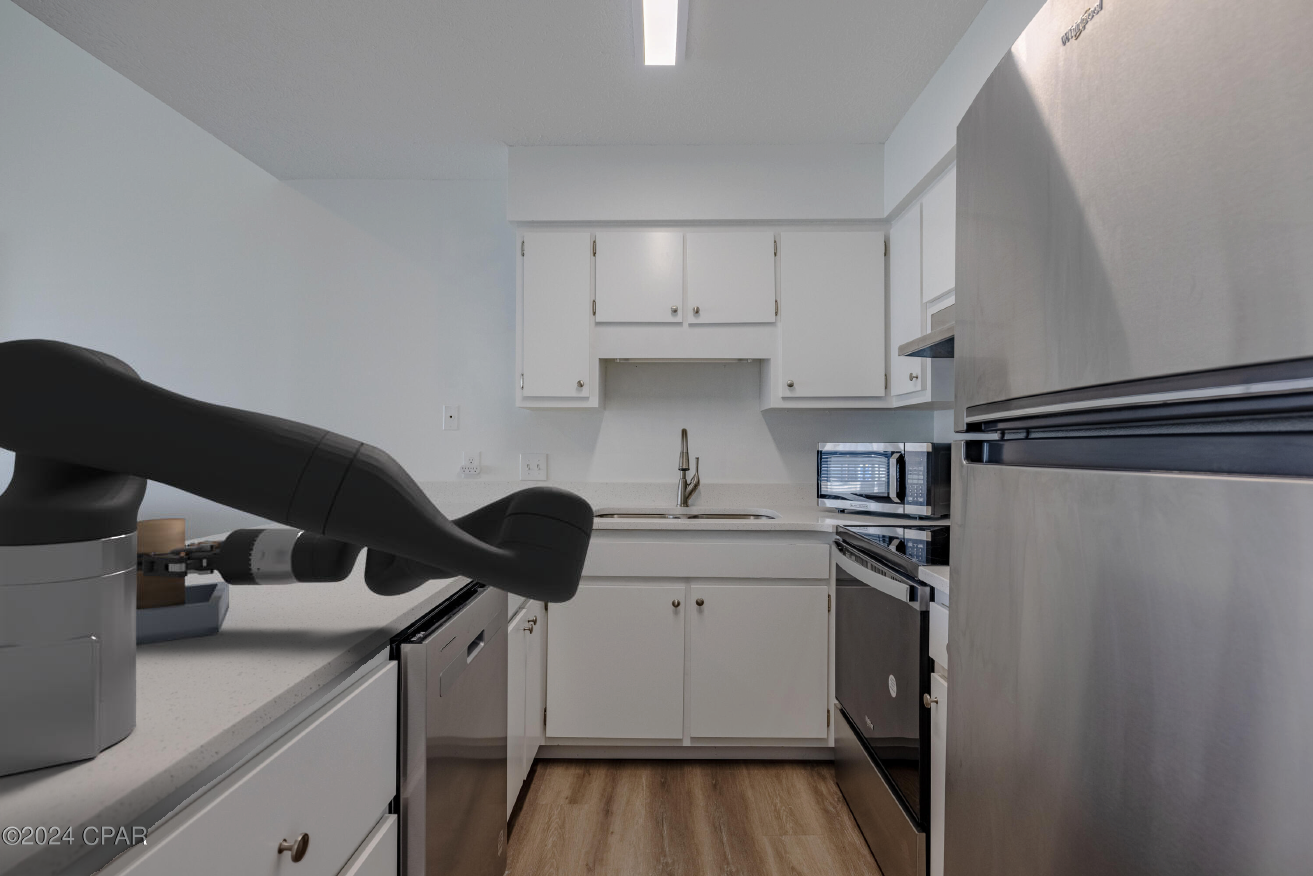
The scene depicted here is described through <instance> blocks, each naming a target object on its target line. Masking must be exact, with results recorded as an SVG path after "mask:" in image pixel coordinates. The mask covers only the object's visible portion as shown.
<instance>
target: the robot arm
mask: <svg viewBox="0 0 1313 876" xmlns="http://www.w3.org/2000/svg"><path fill="white" fill-rule="evenodd" d="M0 449H2V450H3V449H4V450H7V451H9V452H13V453H15V454H14V465H13V472H12V476H11V479H10V481H9V483H8V485H7V487H6V488H5V489H4V491H3V492H2V493H1V494H0V777H1V776H6V775H10V774H16V773H21V772H26V771H32V770H36V769H41V768H45V767H50V766H51V767H52V766H56V765H61V764H62V765H63V764H67V763H71V762H77V761H81V760H85V759H90V758H95V757H97V756H98V755H99V754H100V752H101V751H103V750H104V749H106V748H108V747H110V746H112V745H115V744H116V743H118V742H120V741H121V740H123V739H124V738H126V737H127V736H129V735H130V734H131V733H132V732H133V731H134V729H135V728H136V726H137V645H136V589H137V571H143V576H146V577H149V576H154V577H176V578H184V577H185V578H186V577H188V575H194V574H197V575H198V576H205V575H214V574H215V571H217V572H218V574H219V575H220V576H221V578H222V580H223V581H225V582H226V583H228V584H229V586H284V585H286V586H287V585H294V584H300V583H301V584H302V583H303V584H307V583H308V584H310V583H311V584H313V583H320V584H321V583H322V584H324V583H325V584H326V583H327V584H328V583H340V582H343V581H344V580H347V578H349V576H350V575H351V573H352V572H353V570H354V567H355V565H356V562H357V559H358V558H359V556H360V553H361V551H362V550H363V549H365V548H366V554H365V555H366V557H365V564H364V573H363V577H364V578H363V579H364V583H365V585H366V587H367V588H368V589H369V590H370V592H372V593H374V594H375V595H378V596H383V597H395V596H401V595H404V594H407V593H410V592H413V591H414V590H416V589H418V588H420V587H422V586H423V585H424V584H425V583H427V582H429V581H433V580H435V581H436V580H448V579H454V578H458V577H460V576H461V577H464V578H466V579H470V580H472V581H475V582H478V583H480V584H483V585H486V586H489V587H491V588H495V589H498V590H500V591H503V592H507V593H509V594H512V595H515V596H518V597H521V598H525V599H528V600H531V601H532V600H533V601H536V602H541V603H547V604H548V603H550V604H551V603H552V604H561V603H566V602H569V601H571V600H572V599H573V598H575V596H576V594H577V591H578V590H579V587H580V586H579V585H580V583H581V582H580V581H581V579H582V575H583V570H584V566H585V562H586V559H587V555H588V552H589V551H588V549H589V547H590V542H591V539H592V533H593V530H594V529H593V528H594V520H595V515H594V514H595V513H594V509H593V507H592V506H591V504H590V503H589V502H588V501H587V500H586V499H585V498H583V497H582V496H580V495H578V494H577V493H574V492H572V491H570V490H568V489H564V488H559V487H557V486H556V487H555V486H549V485H547V486H533V487H527V488H524V489H520V490H517V491H515V492H512V493H510V494H508V495H506V496H504V497H502V498H500V499H497V500H495V501H493V502H490V503H488V504H487V505H484V506H482V507H480V508H477V509H476V510H473V511H471V512H470V513H468V514H465V515H463V516H460V517H457V518H454V519H449V518H448V517H447V516H446V515H444V514H443V513H442V512H441V510H439V509H438V507H437V506H436V505H435V504H434V503H433V502H432V500H431V499H430V498H429V497H428V496H427V495H426V493H425V492H424V490H423V489H422V488H421V487H420V486H419V485H418V484H417V482H416V480H414V478H413V477H412V476H411V475H410V474H409V472H407V470H406V469H405V468H404V467H403V466H402V465H401V464H400V463H399V462H398V461H397V460H396V459H395V458H394V457H393V456H391V455H390V454H389V453H388V452H386V451H385V450H383V449H382V448H380V447H378V446H374V445H372V444H369V443H366V442H363V441H360V440H358V439H354V438H353V437H348V436H346V435H342V434H340V433H337V432H334V431H330V430H328V429H325V428H321V427H318V426H314V425H311V424H307V423H303V422H300V421H297V420H296V421H295V420H292V419H287V418H284V417H278V416H275V415H270V414H267V413H262V412H256V411H251V410H246V409H242V408H241V409H240V408H238V407H231V406H225V405H221V404H216V403H212V402H207V401H203V400H200V399H197V398H192V397H190V396H186V395H184V394H180V393H177V392H175V391H172V390H169V389H166V388H164V387H162V386H159V385H156V384H154V383H152V382H150V381H147V380H144V379H142V377H141V376H140V375H139V374H138V372H137V371H136V370H135V369H134V368H133V367H132V366H130V365H129V364H128V363H127V362H126V361H123V360H122V359H120V358H119V357H117V356H114V355H111V354H109V353H106V352H103V351H101V350H100V351H99V350H95V349H92V348H89V347H88V348H87V347H83V346H80V345H75V344H72V343H69V342H64V341H60V340H54V339H43V338H27V339H14V340H9V341H8V340H7V341H2V342H0ZM148 480H149V481H152V482H156V483H160V484H162V485H165V486H169V487H173V488H175V489H178V490H181V491H183V492H186V493H188V494H190V495H191V494H192V495H194V496H197V497H200V498H201V499H205V500H208V501H211V502H213V503H216V504H219V505H222V506H224V507H227V508H228V507H229V508H231V509H234V510H237V511H240V512H243V513H247V514H249V515H252V516H256V517H259V518H261V519H265V520H268V521H270V522H274V523H277V524H280V525H282V526H286V527H290V528H238V529H235V530H233V531H232V532H230V533H229V534H228V535H227V536H226V537H225V539H219V540H218V539H217V540H209V539H206V540H203V541H198V542H197V543H195V542H190V543H187V544H185V547H176V548H174V549H172V550H171V551H170V552H152V553H137V531H136V530H137V521H138V514H139V511H140V507H141V505H142V503H143V501H144V497H145V496H146V492H147V487H148ZM181 552H185V555H184V556H183V555H180V554H181Z"/></svg>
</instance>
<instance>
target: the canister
mask: <svg viewBox="0 0 1313 876" xmlns="http://www.w3.org/2000/svg"><path fill="white" fill-rule="evenodd" d="M136 531H137V553H152V552H170V551H171V550H172V549H174V548H176V547H185V545H186V519H185V518H182V517H180V518H179V517H178V518H175V517H172V518H169V517H168V518H154V519H153V518H152V519H145V520H137V530H136ZM180 555H183V556H184V555H185V552H181V554H180ZM185 585H186V577H184V578H176V577H154V576H149V577H146V576H143V571H137V589H136V610H140V609H149V608H159V607H168V606H177V605H185Z"/></svg>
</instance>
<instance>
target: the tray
mask: <svg viewBox="0 0 1313 876" xmlns="http://www.w3.org/2000/svg"><path fill="white" fill-rule="evenodd" d="M229 609H230V584H228V583H226V582H225V581H224V580H223V581H214V582H204V583H193V584H185V605H177V606H168V607H159V608H149V609H140V610H136V646H137V645H143V644H144V645H145V644H151V643H158V642H165V641H167V642H168V641H173V640H174V641H175V640H180V639H181V640H182V639H189V638H190V639H191V638H196V637H197V638H198V637H203V636H211V635H219V634H220V631H221V629H222V626H223V624H224V621H225V619H226V616H227V614H228V612H229Z"/></svg>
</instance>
